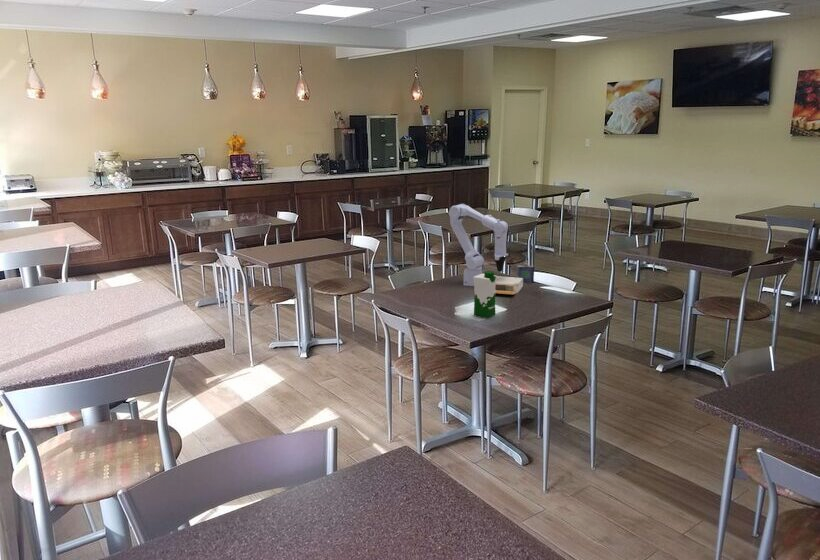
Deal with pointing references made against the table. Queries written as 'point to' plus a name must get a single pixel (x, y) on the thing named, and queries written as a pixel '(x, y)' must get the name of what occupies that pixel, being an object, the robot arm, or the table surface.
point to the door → (504, 292)
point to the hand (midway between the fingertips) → (499, 271)
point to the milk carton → (484, 294)
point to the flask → (526, 273)
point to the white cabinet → (509, 284)
